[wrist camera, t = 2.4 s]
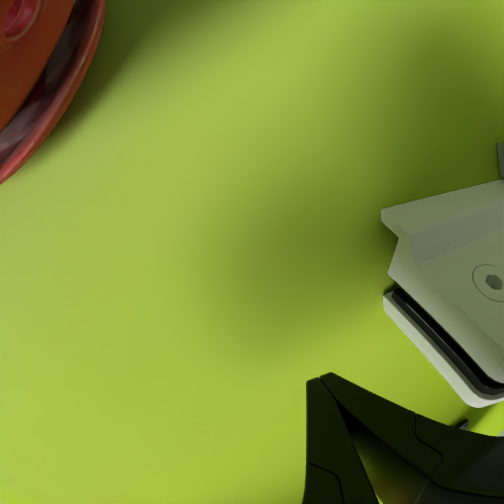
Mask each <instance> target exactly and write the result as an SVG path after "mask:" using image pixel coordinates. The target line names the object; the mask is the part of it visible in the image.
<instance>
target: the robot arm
mask: <svg viewBox="0 0 504 504" xmlns="http://www.w3.org/2000/svg"><path fill="white" fill-rule="evenodd" d="M469 423H470V421H469V420H468V419H465V420H464V421H463V422H461V423H460V424H459V425H457V426H456V427H452V426H449V425H446V424H442V423H439V422H437V421H434V420H432V419H429V418H427V417H424V416H422V415H420V414H416V413H415V412H413V411H411V410H408V409H406V408H404V407H402V406H400V405H398V404H395V403H393V402H391V401H389V400H387V399H385V398H383V397H381V396H378V395H376V394H374V393H372V392H370V391H368V390H366V389H364V388H362V387H360V386H358V385H356V384H354V383H352V382H350V381H348V380H346V379H344V378H342V377H340V376H338V375H336V374H335V373H332V372H329V373H326V374H324V375H321V376H320V377H319V378H318V377H316V378H313V379H310V380H308V381H307V382H306V476H305V488H304V495H303V500H302V504H379V502H378V500H377V497H376V495H375V492H376V494H377V495H378V497H379V498H380V500H381V501H382V503H383V504H504V436H502V437H496V436H488V435H483V434H479V433H475V432H471V431H467V427H468V425H469ZM373 489H374V490H373ZM374 491H375V492H374Z"/></svg>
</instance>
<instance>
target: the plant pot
mask: <svg viewBox="0 0 504 504" xmlns="http://www.w3.org/2000/svg"><path fill="white" fill-rule="evenodd" d="M106 2H107V0H0V185H1V184H2V183H3V182H5V181H6V180H7V179H8V178H10V177H11V176H12V175H13V174H14V173H15V172H16V171H17V170H18V169H19V168H20V167H22V166H23V165H24V163H25V162H26V161H27V160H28V159H29V158H30V157H31V156H32V155H33V154H34V152H35V151H36V150H37V149H38V148H39V146H40V145H41V144H42V143H43V142H44V141H45V140H46V138H47V137H48V135H49V134H50V133H51V131H52V130H53V128H54V127H55V126H56V124H57V123H58V121H59V120H60V118H61V117H62V115H63V114H64V112H65V111H66V109H67V108H68V106H69V104H70V102H71V101H72V99H73V97H74V96H75V94H76V92H77V90H78V89H79V87H80V85H81V83H82V81H83V79H84V77H85V75H86V72H87V70H88V68H89V66H90V64H91V62H92V59H93V57H94V54H95V52H96V49H97V46H98V43H99V40H100V37H101V33H102V29H103V25H104V18H105V12H106Z"/></svg>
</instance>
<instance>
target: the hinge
mask: <svg viewBox="0 0 504 504" xmlns="http://www.w3.org/2000/svg"><path fill="white" fill-rule="evenodd" d="M381 221H382V222H383V223H384V224H385V225H386V226H387V227H388V228H389V229H390V230H391V231H392V232H393V233H395V234H396V235H397V236H398V237H399V240H398V243H397V246H396V249H395V252H394V255H393V258H392V261H391V264H390V267H389V270H388V273H387V274H388V275H389V276H390V277H391V278H392V279H394V280H395V282H394V283H395V284H396V285H398V286H399V287H400V288H397V289H395V290H393V291H392V292H390V293H387V294H385V295H383V306H384V309H385V313H386V314H387V315H388V316H389V317H390V318H391V319H392V320H393V321H394V322H395V323H396V324H397V326H398V327H399V328H400V329H401V330H402V331H403V332H404V333H405V334H406V335H407V336H408V338H409V339H410V340H411V341H412V342H413V343H414V344H415V345H416V346H417V347H418V349H419V350H420V351H421V352H422V353H423V354H424V355H425V356H426V358H427V359H428V360H429V361H430V362H431V363H432V364H433V366H434V367H435V368H436V369H437V370H438V371H439V372H440V374H441V375H442V376H443V377H444V378H445V379H446V381H447V382H448V383H449V384H450V385H451V386H452V388H453V389H454V390H455V391H456V392H457V394H458V395H459V396H460V397H461V398H462V400H463V401H464V402H465V403H466V404H468V405H470V406H472V407H476V408H482V407H485V406H488V405H492V404H495V403H498V402H501V401H503V400H504V179H500V180H496V181H492V182H488V183H484V184H480V185H476V186H471V187H467V188H463V189H459V190H455V191H451V192H447V193H443V194H439V195H435V196H431V197H427V198H423V199H419V200H415V201H411V202H407V203H403V204H399V205H395V206H391V207H387V208H383V209H381Z"/></svg>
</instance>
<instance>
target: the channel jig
mask: <svg viewBox="0 0 504 504" xmlns="http://www.w3.org/2000/svg"><path fill="white" fill-rule="evenodd" d="M497 152H498V160H499V170H500V177H504V143H497Z"/></svg>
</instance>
